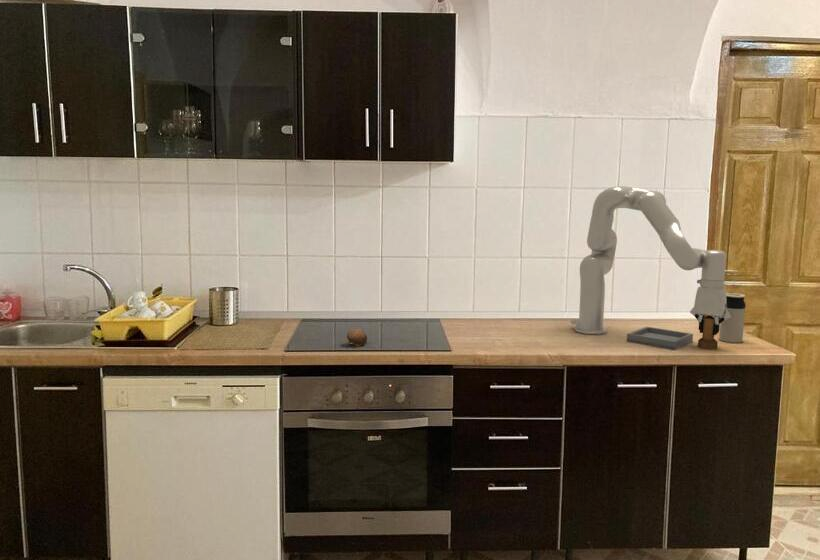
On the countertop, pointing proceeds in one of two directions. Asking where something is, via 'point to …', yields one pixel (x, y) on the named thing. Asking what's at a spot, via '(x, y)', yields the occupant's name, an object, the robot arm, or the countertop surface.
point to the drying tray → (660, 338)
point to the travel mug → (733, 319)
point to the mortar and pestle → (708, 334)
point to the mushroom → (357, 337)
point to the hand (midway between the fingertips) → (708, 332)
